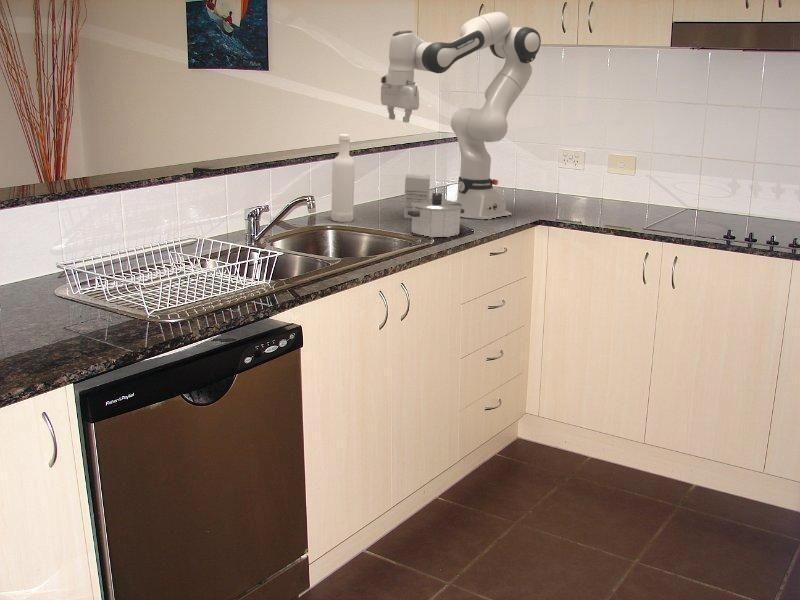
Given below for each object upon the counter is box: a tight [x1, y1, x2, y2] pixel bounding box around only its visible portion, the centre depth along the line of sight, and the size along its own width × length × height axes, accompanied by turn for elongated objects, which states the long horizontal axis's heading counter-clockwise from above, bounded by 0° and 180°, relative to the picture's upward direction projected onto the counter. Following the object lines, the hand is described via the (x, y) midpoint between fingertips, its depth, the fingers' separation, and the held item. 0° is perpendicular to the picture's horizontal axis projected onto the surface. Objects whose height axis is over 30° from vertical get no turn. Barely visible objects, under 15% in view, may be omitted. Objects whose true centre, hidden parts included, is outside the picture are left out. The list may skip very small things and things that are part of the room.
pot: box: [408, 207, 464, 238], centre depth 299 cm, size 20×16×9 cm
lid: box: [411, 192, 462, 211], centre depth 297 cm, size 17×17×6 cm
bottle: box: [330, 133, 356, 223], centre depth 308 cm, size 8×8×30 cm
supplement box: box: [403, 173, 431, 219], centre depth 322 cm, size 9×9×15 cm
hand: (398, 120), depth 306 cm, fingers open, 8 cm apart
